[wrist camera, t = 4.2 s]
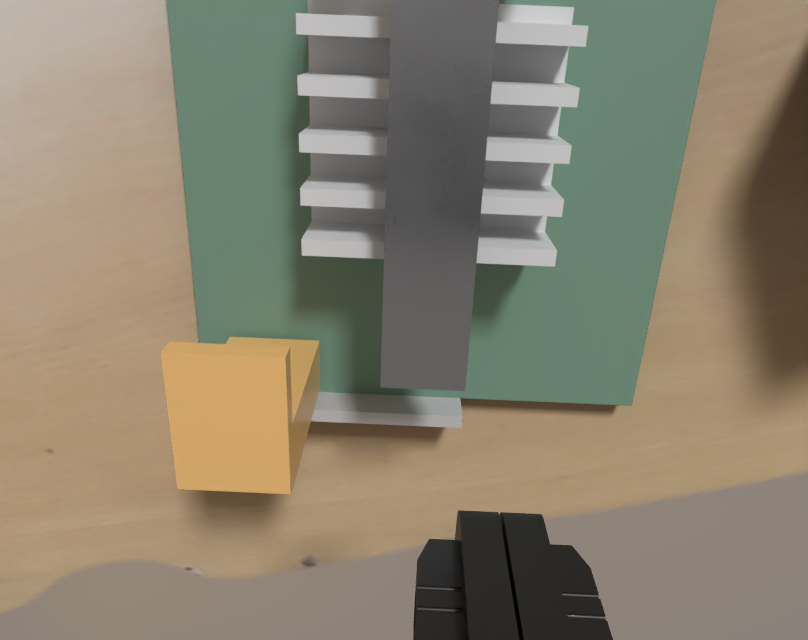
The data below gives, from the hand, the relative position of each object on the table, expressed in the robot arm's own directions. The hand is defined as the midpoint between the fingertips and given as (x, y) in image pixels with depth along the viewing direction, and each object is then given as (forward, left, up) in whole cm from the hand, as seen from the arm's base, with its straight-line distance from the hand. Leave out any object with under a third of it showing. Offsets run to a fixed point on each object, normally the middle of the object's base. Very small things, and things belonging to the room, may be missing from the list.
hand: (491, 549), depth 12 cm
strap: (+1, -5, -12) cm, 13 cm away
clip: (+8, +4, -17) cm, 19 cm away
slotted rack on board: (+1, -5, -18) cm, 19 cm away
